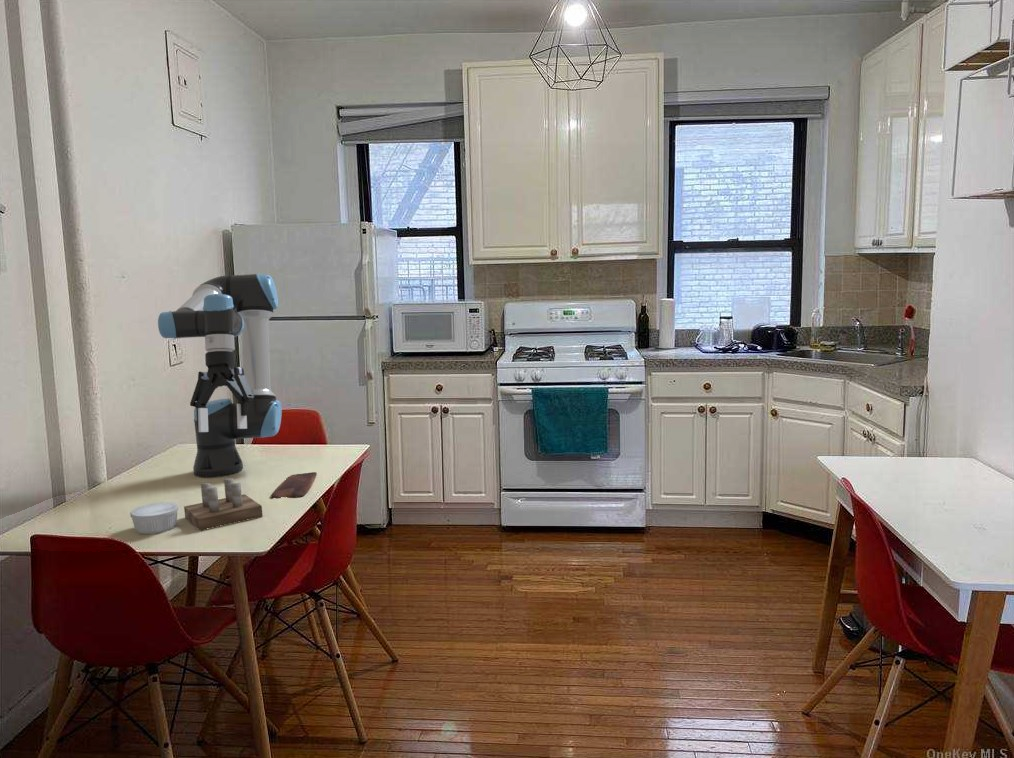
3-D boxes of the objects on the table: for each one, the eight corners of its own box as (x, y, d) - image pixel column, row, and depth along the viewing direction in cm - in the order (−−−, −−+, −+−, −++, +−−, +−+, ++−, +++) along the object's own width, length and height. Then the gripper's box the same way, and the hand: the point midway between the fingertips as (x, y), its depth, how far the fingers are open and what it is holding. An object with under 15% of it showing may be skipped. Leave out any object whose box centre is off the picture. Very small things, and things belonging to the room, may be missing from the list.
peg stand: (185, 517, 204) (181, 484, 203) (245, 504, 214) (242, 473, 212) (199, 530, 193) (196, 496, 192) (262, 516, 203) (259, 483, 201)
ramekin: (162, 536, 190) (160, 516, 189) (122, 535, 192) (119, 515, 191) (188, 521, 201) (186, 502, 200) (150, 520, 203) (148, 501, 202)
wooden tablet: (289, 471, 244) (320, 465, 245) (290, 477, 245) (321, 472, 245) (268, 496, 218) (303, 490, 219) (269, 503, 219) (305, 497, 219)
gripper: (174, 355, 210) (177, 433, 208) (245, 345, 200) (248, 427, 198) (196, 357, 217) (198, 433, 215) (265, 348, 207) (269, 427, 205)
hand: (222, 430), depth 207 cm, fingers open, 13 cm apart
